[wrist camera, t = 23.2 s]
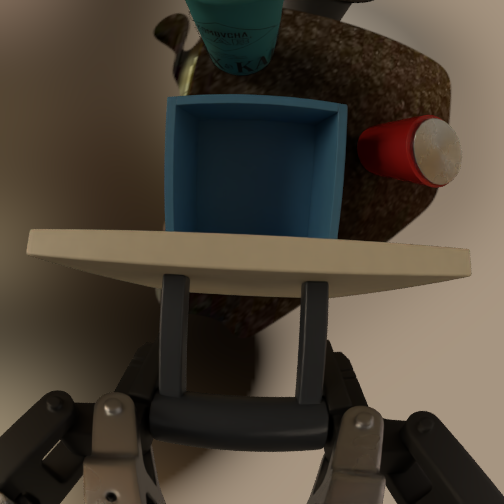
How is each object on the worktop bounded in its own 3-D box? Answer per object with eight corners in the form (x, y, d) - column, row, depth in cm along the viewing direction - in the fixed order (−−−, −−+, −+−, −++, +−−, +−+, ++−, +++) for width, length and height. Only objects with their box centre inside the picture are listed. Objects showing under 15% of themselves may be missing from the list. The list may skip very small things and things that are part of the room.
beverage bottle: (212, 32, 21) (158, -95, 2) (275, 31, 21) (297, -105, 2) (210, 83, 24) (130, -30, 5) (276, 82, 23) (311, -45, 5)
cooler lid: (29, 228, 6) (30, 422, 5) (470, 248, 6) (450, 445, 5) (167, 280, 21) (164, 355, 20) (330, 287, 21) (327, 363, 20)
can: (358, 121, 24) (411, 105, 14) (402, 131, 24) (465, 125, 14) (355, 172, 26) (407, 182, 16) (399, 179, 26) (461, 194, 16)
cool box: (193, 114, 25) (167, 97, 16) (320, 120, 25) (347, 104, 16) (192, 248, 29) (169, 282, 21) (310, 254, 29) (329, 290, 21)
